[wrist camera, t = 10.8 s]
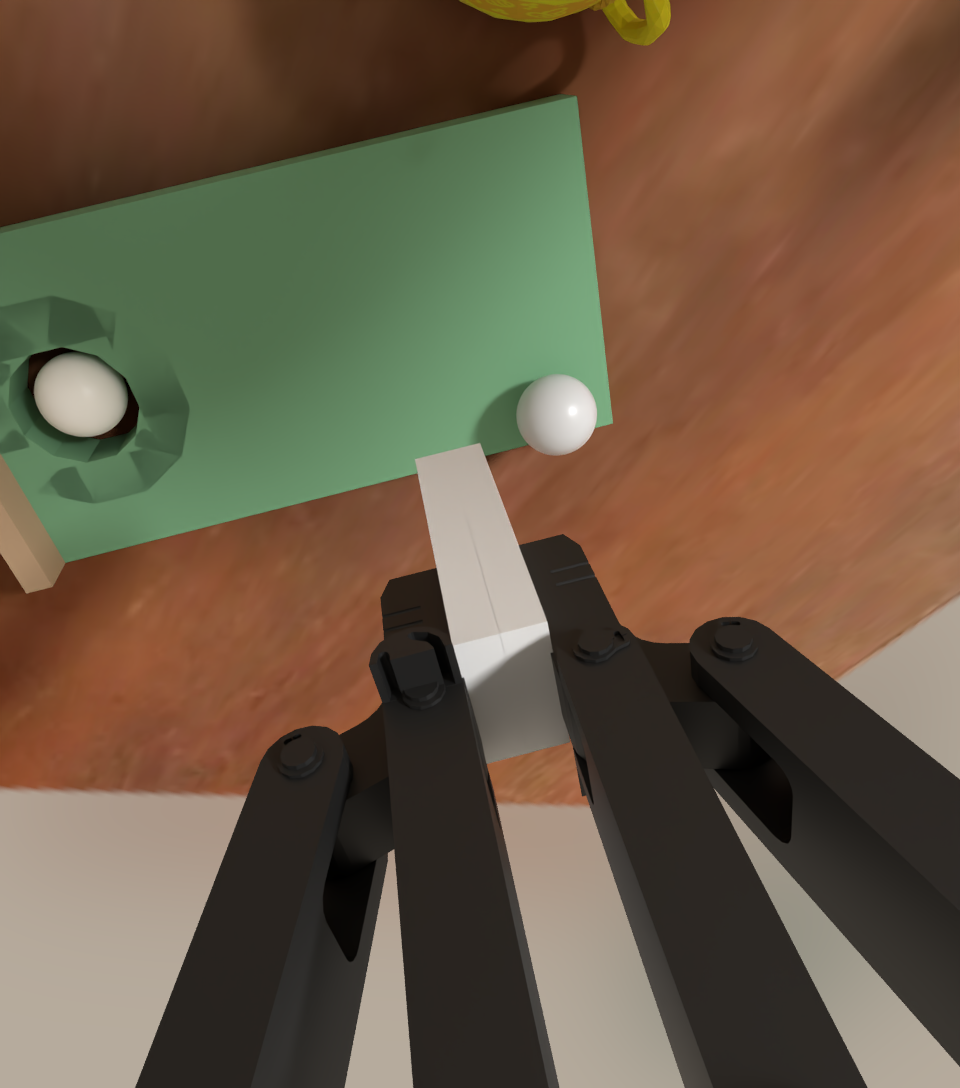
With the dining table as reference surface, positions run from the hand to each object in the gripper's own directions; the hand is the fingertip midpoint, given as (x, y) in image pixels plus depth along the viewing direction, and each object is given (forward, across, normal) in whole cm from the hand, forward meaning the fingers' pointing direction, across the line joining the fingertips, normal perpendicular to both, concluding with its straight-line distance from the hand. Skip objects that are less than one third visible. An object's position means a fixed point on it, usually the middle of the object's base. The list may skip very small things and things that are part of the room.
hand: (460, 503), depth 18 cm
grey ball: (+16, +5, -6) cm, 18 cm away
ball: (+19, -14, -1) cm, 23 cm away
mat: (+20, -6, -1) cm, 21 cm away
